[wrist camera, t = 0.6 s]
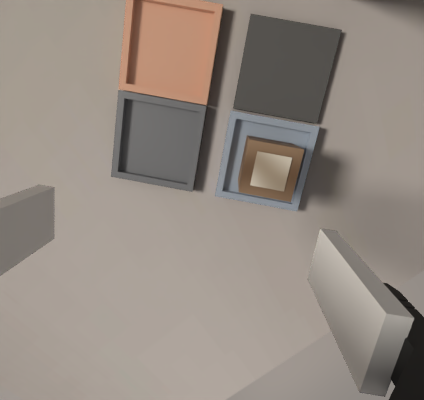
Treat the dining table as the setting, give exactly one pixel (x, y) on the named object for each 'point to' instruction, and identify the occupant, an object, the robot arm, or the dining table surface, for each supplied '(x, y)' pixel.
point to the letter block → (269, 168)
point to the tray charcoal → (157, 140)
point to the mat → (285, 68)
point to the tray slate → (266, 129)
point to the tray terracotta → (170, 48)
